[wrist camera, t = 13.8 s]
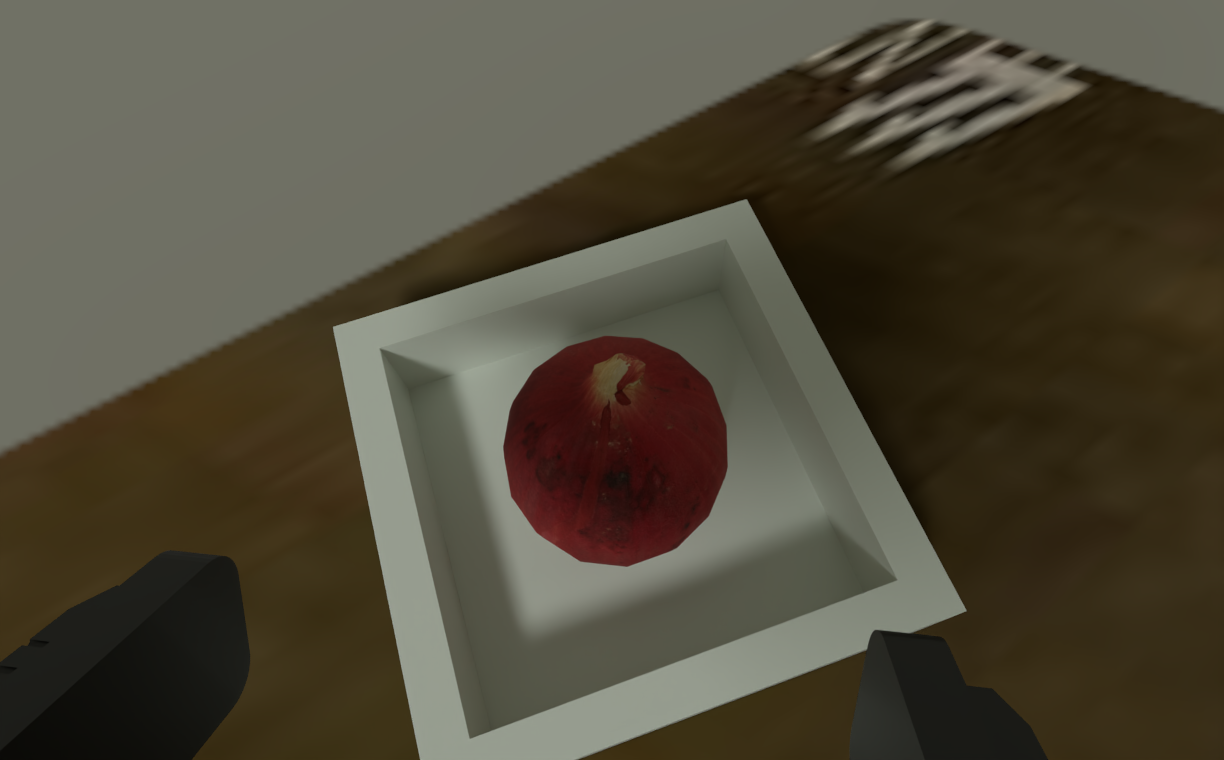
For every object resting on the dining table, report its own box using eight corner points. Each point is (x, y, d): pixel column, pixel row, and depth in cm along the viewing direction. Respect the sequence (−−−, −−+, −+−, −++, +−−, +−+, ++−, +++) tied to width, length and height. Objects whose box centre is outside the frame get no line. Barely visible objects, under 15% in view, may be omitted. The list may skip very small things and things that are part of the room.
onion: (709, 598, 21) (751, 523, 14) (509, 581, 22) (452, 499, 15) (714, 411, 24) (752, 269, 17) (536, 399, 24) (498, 253, 17)
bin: (735, 262, 27) (746, 199, 24) (920, 629, 21) (966, 610, 18) (372, 377, 26) (333, 327, 23) (466, 801, 20) (431, 814, 17)
